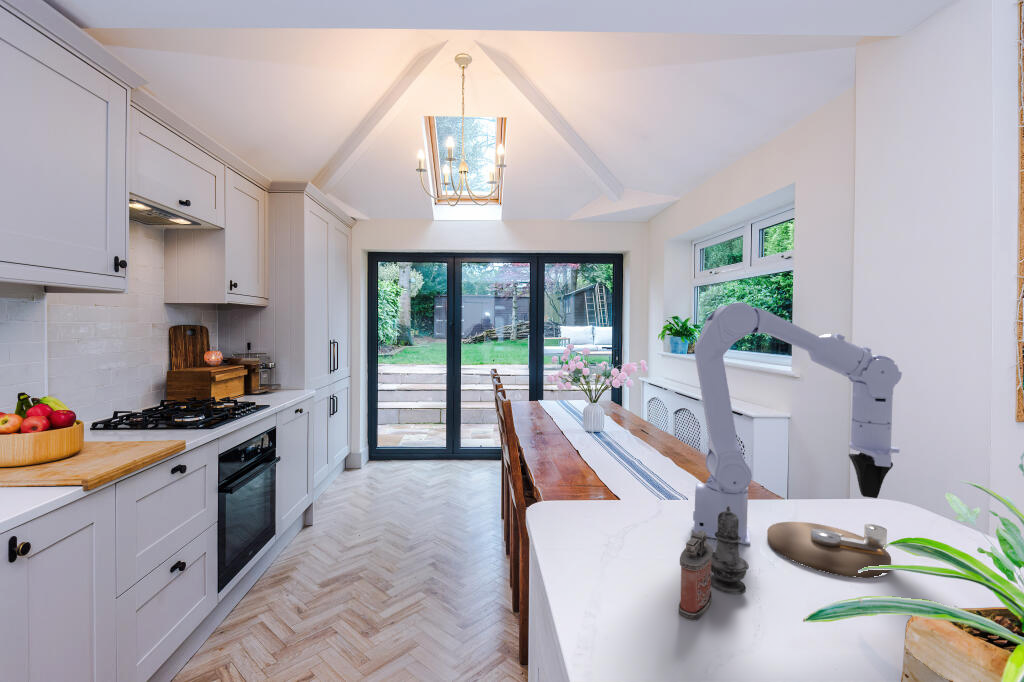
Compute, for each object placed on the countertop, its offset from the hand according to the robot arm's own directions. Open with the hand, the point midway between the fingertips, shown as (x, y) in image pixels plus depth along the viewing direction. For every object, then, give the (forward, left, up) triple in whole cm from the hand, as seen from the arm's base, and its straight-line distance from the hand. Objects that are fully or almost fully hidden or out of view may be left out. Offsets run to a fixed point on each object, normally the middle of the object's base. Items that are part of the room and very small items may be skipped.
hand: (869, 496), depth 82 cm
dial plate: (-7, -5, -9) cm, 13 cm away
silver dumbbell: (-4, -5, -8) cm, 10 cm away
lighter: (-27, -33, -10) cm, 44 cm away
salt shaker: (-23, -25, -10) cm, 35 cm away
